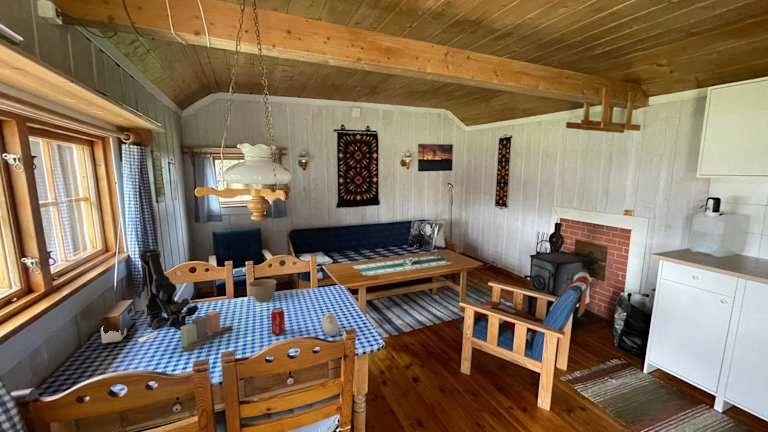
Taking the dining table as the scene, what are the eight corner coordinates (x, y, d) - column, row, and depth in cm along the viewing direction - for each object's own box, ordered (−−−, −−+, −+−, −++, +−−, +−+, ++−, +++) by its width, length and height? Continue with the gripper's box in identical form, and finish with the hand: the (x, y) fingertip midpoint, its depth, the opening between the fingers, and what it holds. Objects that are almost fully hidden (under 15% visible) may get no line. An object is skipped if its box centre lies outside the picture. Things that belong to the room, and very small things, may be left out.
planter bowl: (282, 297, 203) (281, 281, 202) (262, 306, 189) (261, 288, 188) (264, 292, 211) (263, 277, 209) (243, 301, 197) (243, 284, 195)
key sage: (181, 346, 142) (180, 327, 141) (191, 341, 146) (190, 322, 145) (187, 348, 140) (186, 328, 139) (197, 343, 144) (195, 324, 143)
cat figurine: (335, 320, 151) (328, 305, 164) (320, 330, 149) (314, 314, 162) (344, 333, 154) (337, 317, 168) (330, 344, 153) (324, 327, 166)
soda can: (282, 328, 162) (281, 306, 160) (286, 333, 157) (286, 310, 155) (269, 332, 158) (269, 309, 156) (274, 337, 153) (273, 313, 151)
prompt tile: (137, 340, 148) (137, 339, 148) (153, 334, 154) (153, 332, 154) (152, 347, 143) (152, 345, 143) (168, 339, 149) (168, 338, 149)
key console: (168, 347, 143) (168, 341, 142) (215, 326, 163) (214, 320, 163) (186, 354, 137) (186, 348, 137) (232, 331, 158) (231, 325, 158)
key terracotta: (206, 331, 156) (205, 313, 155) (214, 327, 160) (214, 310, 159) (212, 333, 154) (211, 315, 153) (220, 329, 158) (219, 311, 157)
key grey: (192, 337, 149) (191, 319, 148) (201, 333, 154) (200, 315, 152) (198, 339, 148) (197, 321, 147) (207, 335, 152) (206, 317, 151)
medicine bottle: (126, 333, 155) (124, 310, 153) (120, 341, 148) (118, 316, 147) (108, 336, 152) (106, 312, 151) (101, 343, 145) (99, 318, 144)
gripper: (153, 301, 135) (171, 331, 132) (195, 288, 152) (212, 314, 149) (144, 315, 140) (161, 345, 136) (185, 301, 156) (202, 326, 153)
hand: (185, 332), depth 144 cm, fingers closed
